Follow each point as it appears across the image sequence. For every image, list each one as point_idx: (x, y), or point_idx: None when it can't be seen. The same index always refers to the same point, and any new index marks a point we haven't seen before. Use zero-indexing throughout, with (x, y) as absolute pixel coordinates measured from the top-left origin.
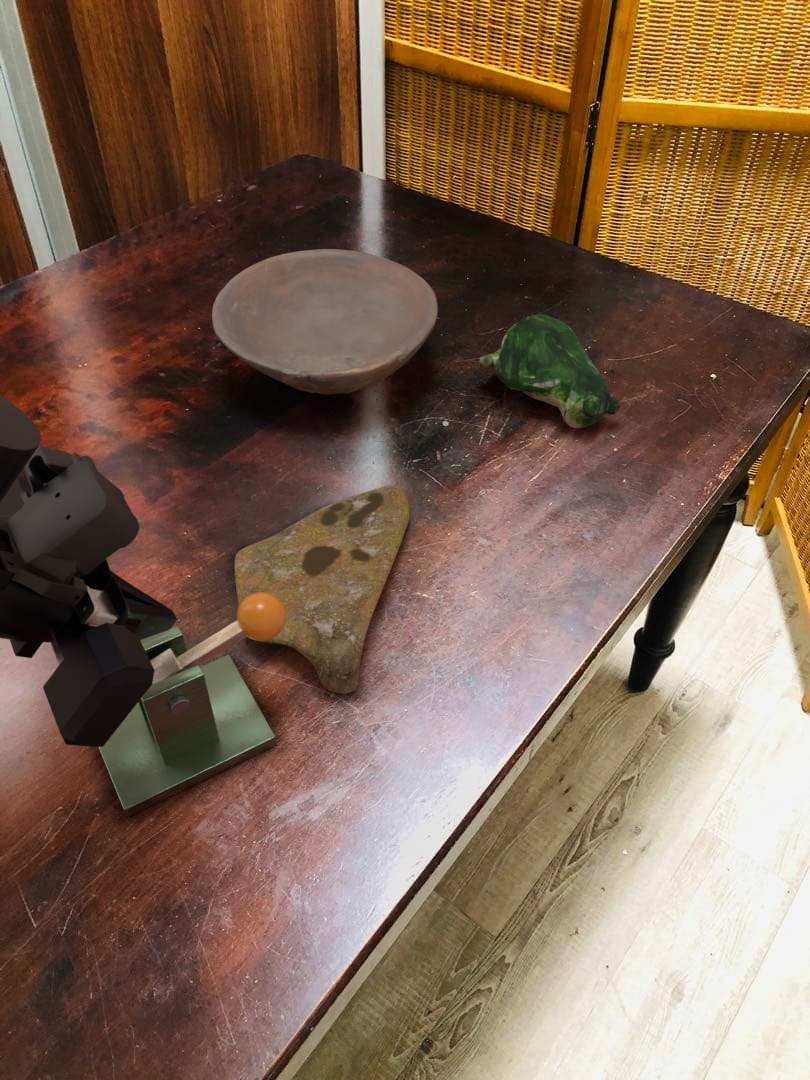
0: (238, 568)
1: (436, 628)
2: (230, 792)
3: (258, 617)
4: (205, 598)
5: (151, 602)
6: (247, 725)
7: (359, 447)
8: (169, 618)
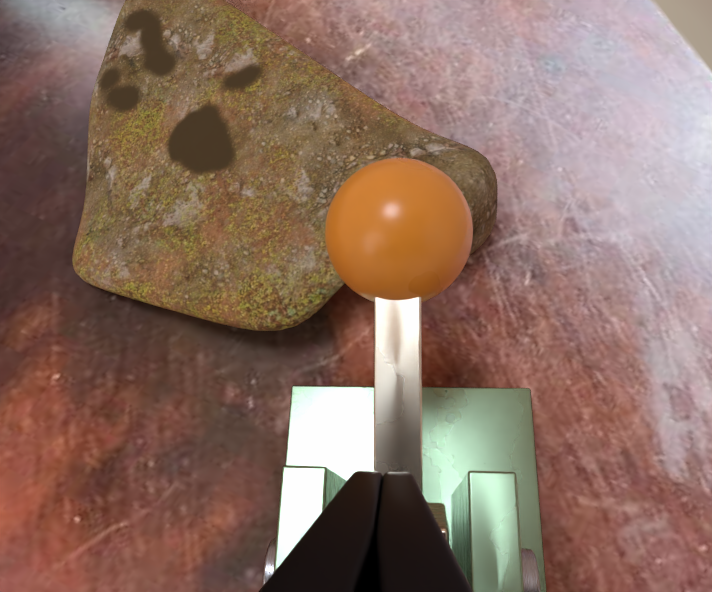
0: (113, 280)
1: (430, 64)
2: (590, 528)
3: (441, 225)
4: (126, 371)
5: (347, 577)
6: (476, 427)
7: (18, 12)
8: (430, 511)
